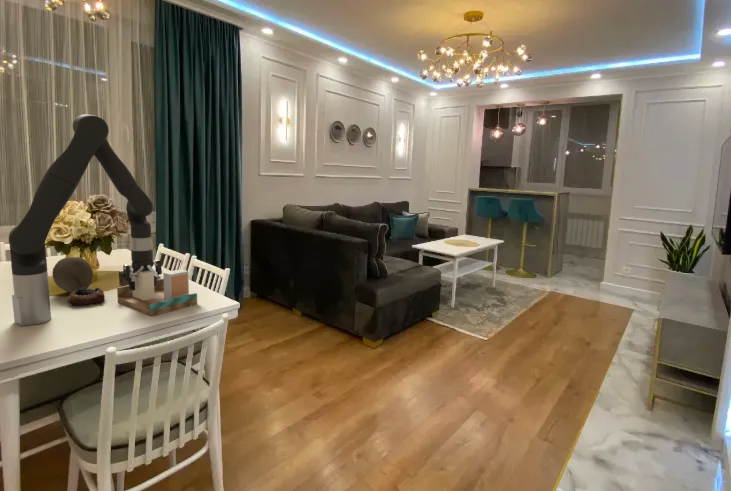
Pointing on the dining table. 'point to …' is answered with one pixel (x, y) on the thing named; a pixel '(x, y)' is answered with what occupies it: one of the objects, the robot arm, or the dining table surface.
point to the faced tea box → (176, 284)
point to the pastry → (86, 297)
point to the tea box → (144, 285)
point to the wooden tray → (155, 300)
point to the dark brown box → (125, 282)
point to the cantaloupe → (72, 274)
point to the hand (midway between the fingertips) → (143, 287)
